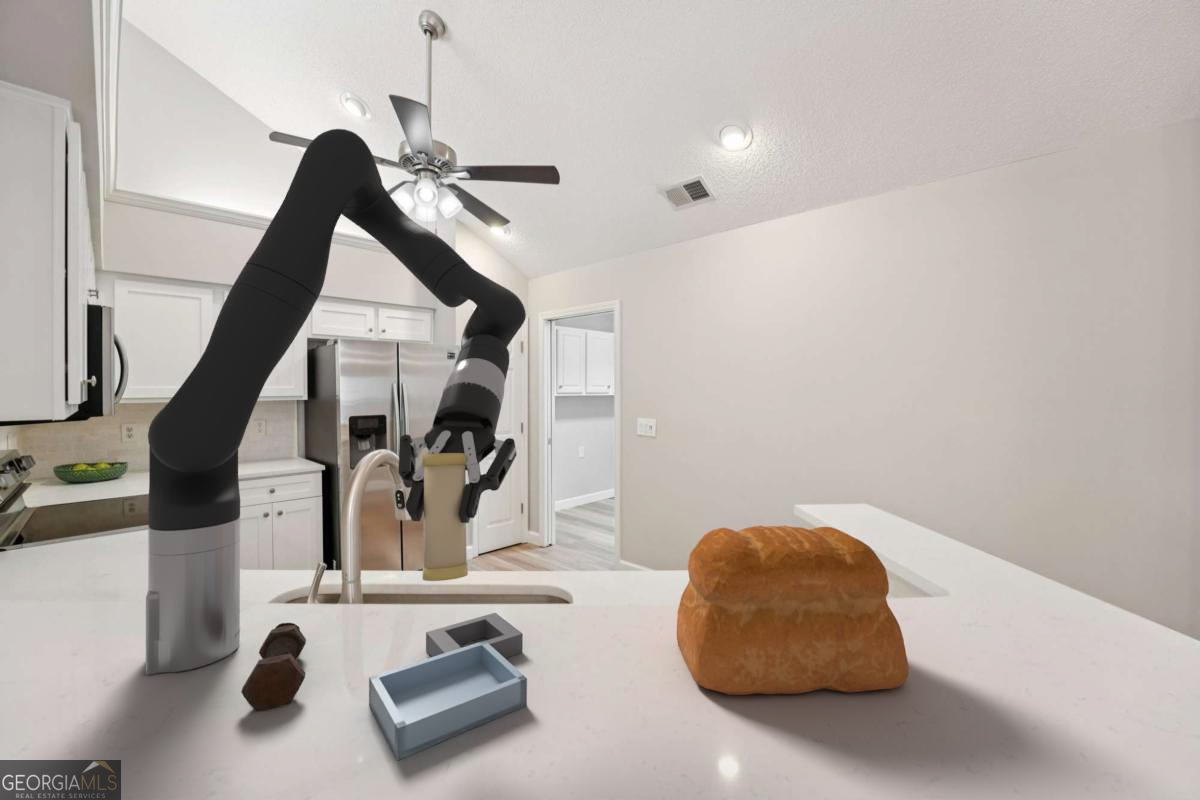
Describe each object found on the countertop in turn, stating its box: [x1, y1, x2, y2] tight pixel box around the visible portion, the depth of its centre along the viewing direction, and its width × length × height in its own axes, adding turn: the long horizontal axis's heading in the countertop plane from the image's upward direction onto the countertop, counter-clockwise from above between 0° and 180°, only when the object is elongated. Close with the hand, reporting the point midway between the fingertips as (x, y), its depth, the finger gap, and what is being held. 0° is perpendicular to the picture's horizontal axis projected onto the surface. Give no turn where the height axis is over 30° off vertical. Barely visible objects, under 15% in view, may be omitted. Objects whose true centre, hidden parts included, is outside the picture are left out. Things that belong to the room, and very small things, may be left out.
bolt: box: [240, 622, 307, 712], centre depth 60 cm, size 6×5×15 cm
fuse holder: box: [425, 612, 524, 659], centre depth 66 cm, size 10×8×2 cm
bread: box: [676, 525, 910, 696], centre depth 64 cm, size 16×26×17 cm, turn 94°
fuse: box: [422, 453, 469, 582], centre depth 54 cm, size 5×5×13 cm
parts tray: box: [368, 640, 528, 761], centre depth 54 cm, size 14×11×3 cm
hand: (438, 517), depth 53 cm, fingers closed on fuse, 4 cm apart
